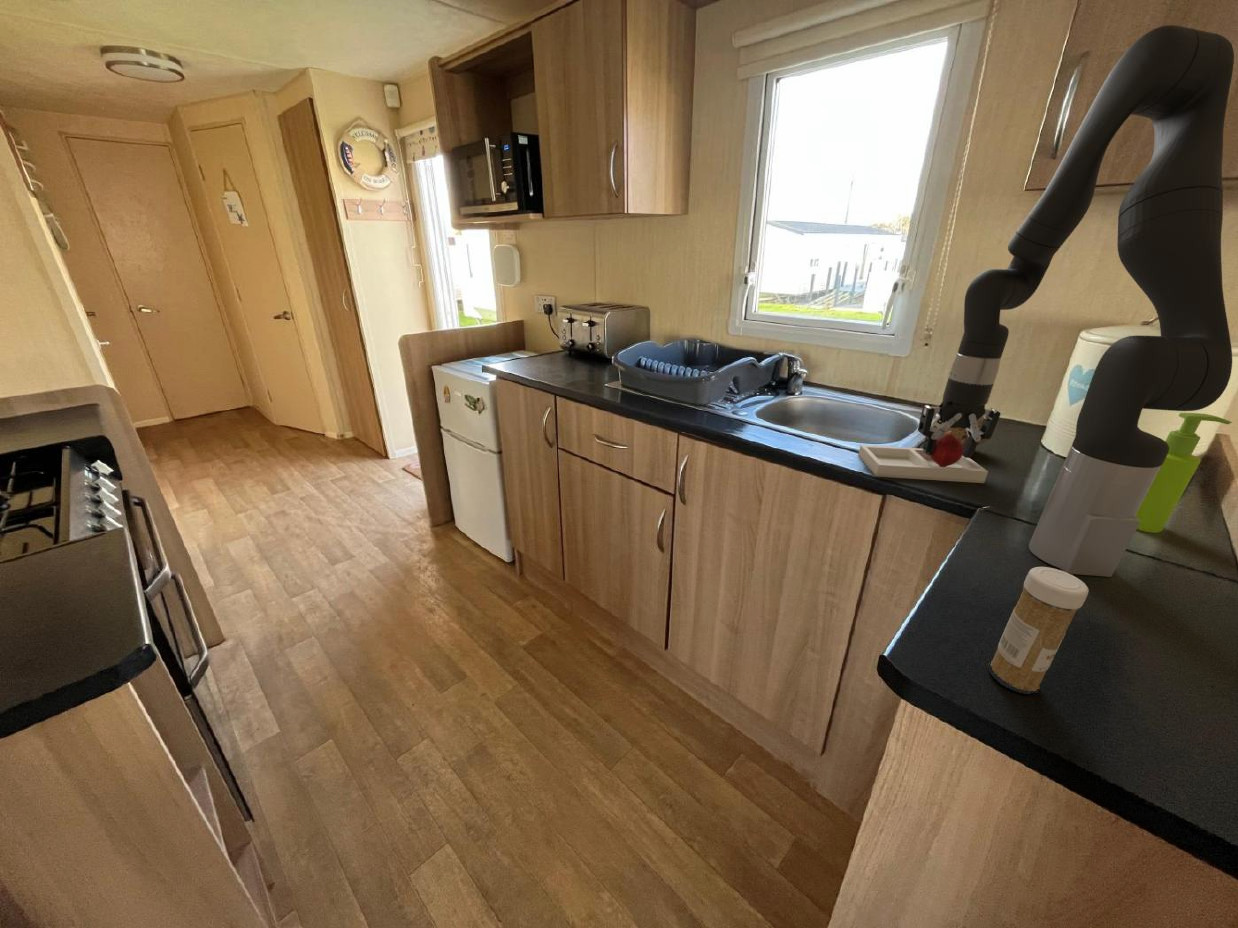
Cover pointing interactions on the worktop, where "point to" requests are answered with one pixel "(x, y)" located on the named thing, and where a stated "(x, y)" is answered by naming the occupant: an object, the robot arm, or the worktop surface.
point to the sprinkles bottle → (1037, 626)
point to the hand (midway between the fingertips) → (946, 455)
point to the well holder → (918, 465)
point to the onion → (947, 450)
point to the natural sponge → (964, 433)
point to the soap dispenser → (1173, 473)
